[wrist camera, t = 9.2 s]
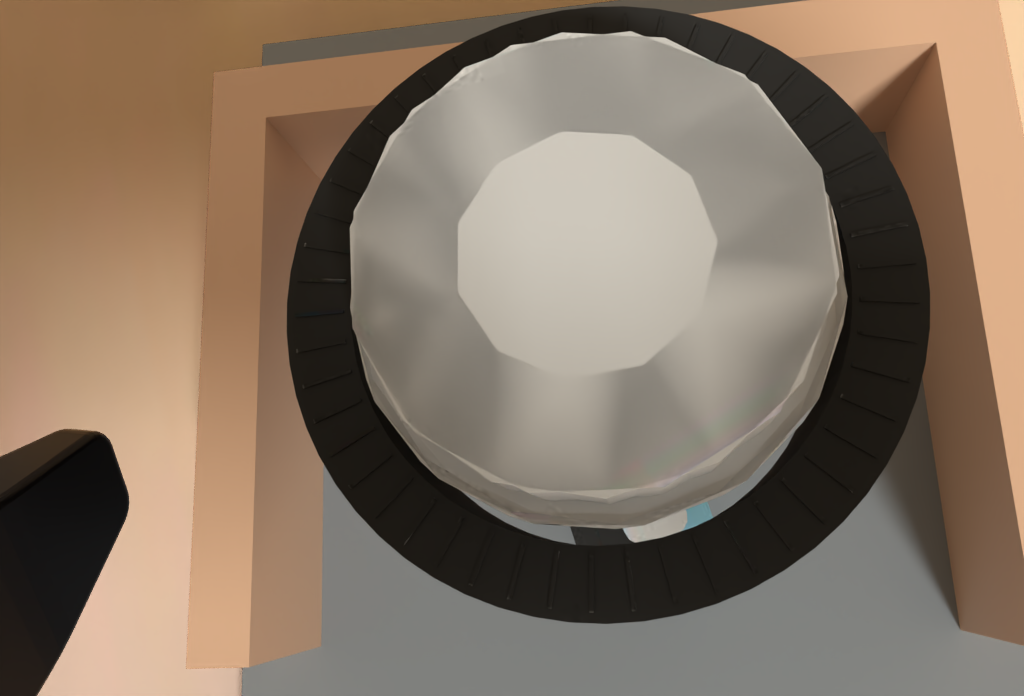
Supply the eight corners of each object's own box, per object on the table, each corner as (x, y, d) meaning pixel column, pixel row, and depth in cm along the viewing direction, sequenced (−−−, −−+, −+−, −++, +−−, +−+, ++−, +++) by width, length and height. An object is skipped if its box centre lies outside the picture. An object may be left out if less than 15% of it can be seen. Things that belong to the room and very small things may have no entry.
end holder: (1068, 845, 14) (1225, 953, 10) (261, 840, 16) (140, 930, 12) (925, -9, 18) (1000, -160, 14) (281, 69, 20) (194, -47, 16)
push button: (426, 282, 17) (146, -63, 8) (686, 192, 17) (739, -290, 7) (525, 621, 15) (325, 735, 6) (817, 530, 15) (1122, 492, 5)
